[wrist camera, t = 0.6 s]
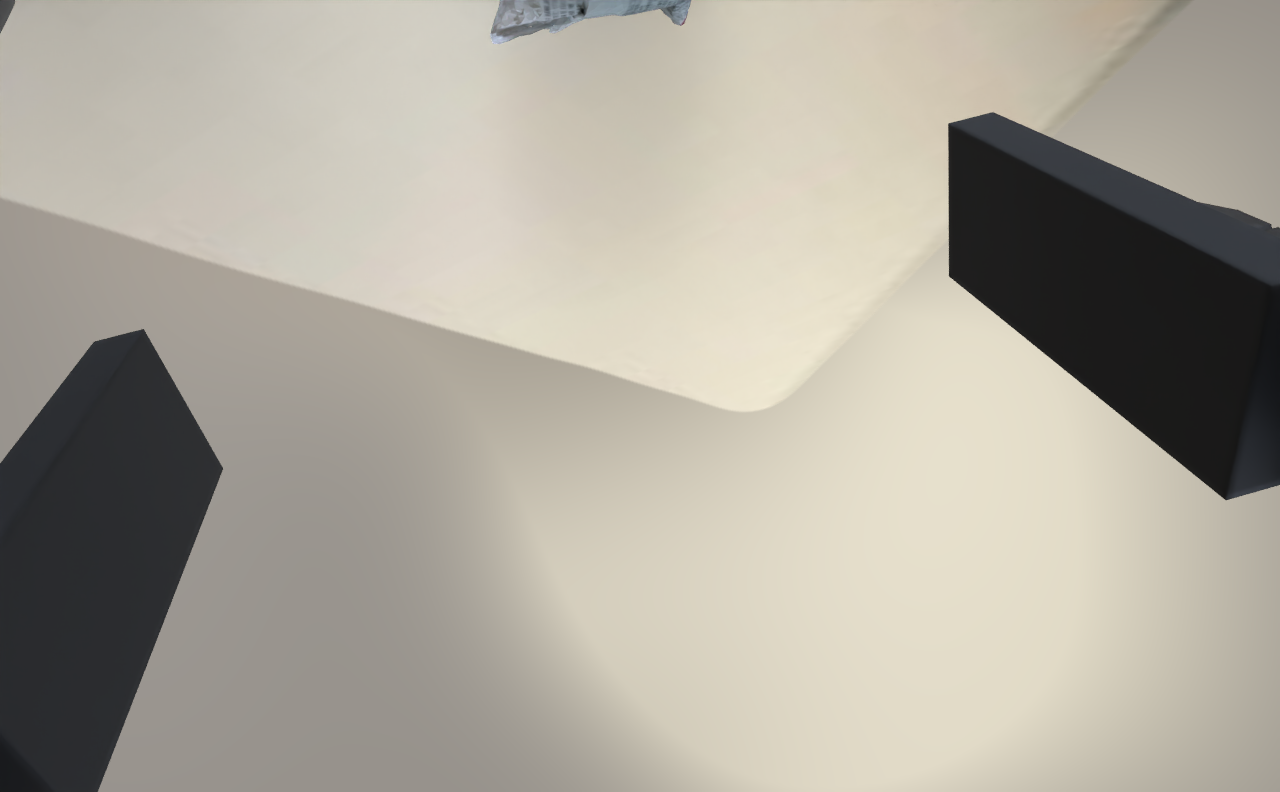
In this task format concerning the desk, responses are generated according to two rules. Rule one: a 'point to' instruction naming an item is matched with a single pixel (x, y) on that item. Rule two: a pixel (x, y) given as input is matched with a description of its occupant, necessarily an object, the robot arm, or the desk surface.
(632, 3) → the packaged food
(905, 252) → the desk surface
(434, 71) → the desk surface
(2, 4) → the battery charger
